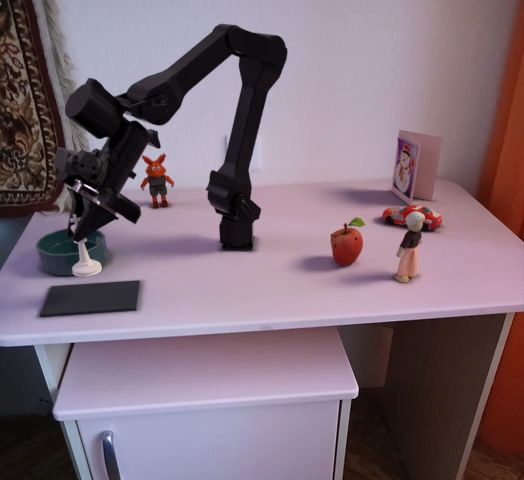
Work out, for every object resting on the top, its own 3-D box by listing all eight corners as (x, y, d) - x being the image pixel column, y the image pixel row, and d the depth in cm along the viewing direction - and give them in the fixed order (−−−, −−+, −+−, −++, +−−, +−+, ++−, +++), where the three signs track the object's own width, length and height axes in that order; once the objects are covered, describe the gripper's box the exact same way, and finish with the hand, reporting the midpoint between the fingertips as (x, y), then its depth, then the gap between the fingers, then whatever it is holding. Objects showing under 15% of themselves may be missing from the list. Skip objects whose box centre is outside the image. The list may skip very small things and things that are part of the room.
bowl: (116, 247, 113) (112, 227, 110) (97, 277, 102) (93, 255, 100) (55, 246, 113) (50, 226, 111) (31, 276, 103) (24, 254, 100)
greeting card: (388, 190, 139) (395, 129, 130) (414, 188, 140) (423, 127, 131) (407, 206, 130) (417, 142, 121) (435, 203, 131) (447, 140, 122)
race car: (378, 223, 122) (380, 205, 120) (386, 214, 126) (388, 198, 124) (436, 234, 117) (439, 216, 114) (442, 225, 120) (446, 208, 118)
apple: (320, 264, 106) (323, 216, 100) (336, 252, 110) (340, 204, 104) (355, 275, 102) (361, 225, 96) (371, 261, 107) (377, 213, 101)
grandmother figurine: (409, 287, 98) (420, 221, 91) (389, 281, 100) (398, 216, 92) (423, 270, 103) (434, 206, 96) (403, 265, 105) (413, 202, 98)
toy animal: (145, 212, 129) (138, 161, 122) (143, 204, 133) (135, 154, 126) (178, 208, 130) (173, 158, 123) (175, 200, 135) (169, 151, 128)
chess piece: (103, 274, 91) (90, 218, 85) (72, 279, 90) (58, 222, 84) (101, 261, 95) (89, 207, 89) (72, 266, 94) (58, 211, 88)
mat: (139, 282, 101) (139, 280, 100) (136, 310, 92) (135, 307, 92) (51, 288, 99) (51, 285, 99) (40, 317, 91) (39, 314, 91)
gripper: (53, 115, 87) (5, 199, 88) (109, 137, 75) (53, 233, 76) (106, 154, 96) (62, 230, 96) (164, 179, 84) (113, 265, 85)
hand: (71, 238), depth 88 cm, fingers closed on chess piece
